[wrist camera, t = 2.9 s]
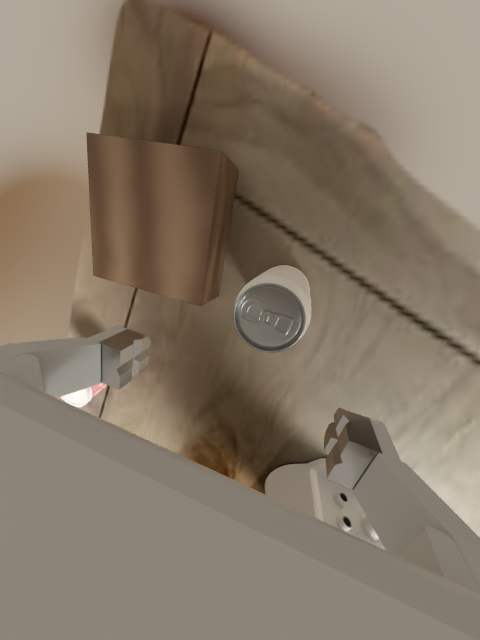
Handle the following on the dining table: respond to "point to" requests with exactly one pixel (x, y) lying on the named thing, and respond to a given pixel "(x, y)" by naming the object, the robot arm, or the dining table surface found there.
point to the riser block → (160, 215)
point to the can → (273, 309)
